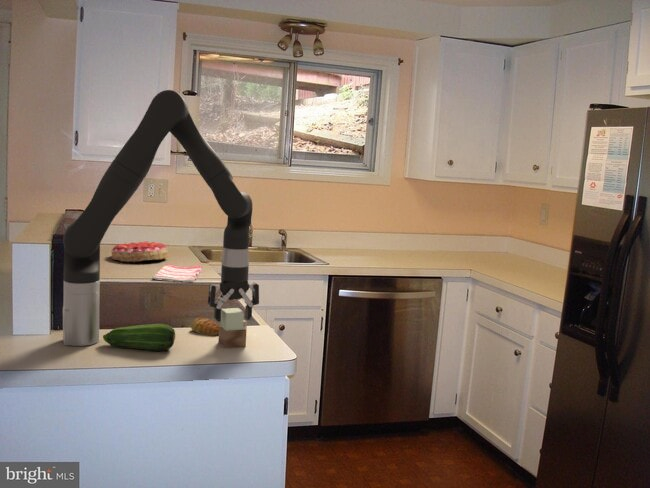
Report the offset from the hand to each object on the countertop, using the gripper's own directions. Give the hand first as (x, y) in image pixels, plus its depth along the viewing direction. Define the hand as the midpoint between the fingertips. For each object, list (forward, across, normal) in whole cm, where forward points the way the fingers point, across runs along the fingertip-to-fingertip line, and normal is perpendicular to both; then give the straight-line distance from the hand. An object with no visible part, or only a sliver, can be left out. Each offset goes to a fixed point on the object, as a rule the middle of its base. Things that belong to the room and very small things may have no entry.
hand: (233, 320), depth 186 cm
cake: (+8, -2, +134) cm, 135 cm away
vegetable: (+7, -25, +3) cm, 27 cm away
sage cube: (+2, 0, 0) cm, 2 cm away
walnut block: (+7, 0, 0) cm, 7 cm away
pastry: (+8, -3, +15) cm, 17 cm away
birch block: (+7, +4, +9) cm, 12 cm away
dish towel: (+8, +7, +95) cm, 96 cm away
